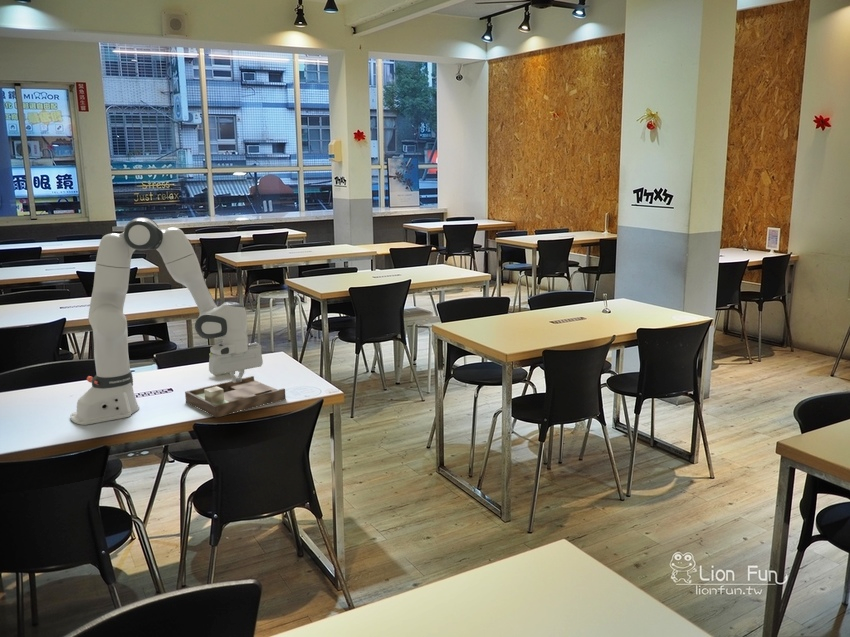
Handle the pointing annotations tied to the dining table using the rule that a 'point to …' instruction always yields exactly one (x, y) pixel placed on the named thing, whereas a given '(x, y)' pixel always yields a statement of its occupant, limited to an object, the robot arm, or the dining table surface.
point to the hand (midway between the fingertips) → (237, 382)
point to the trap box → (235, 396)
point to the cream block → (214, 394)
